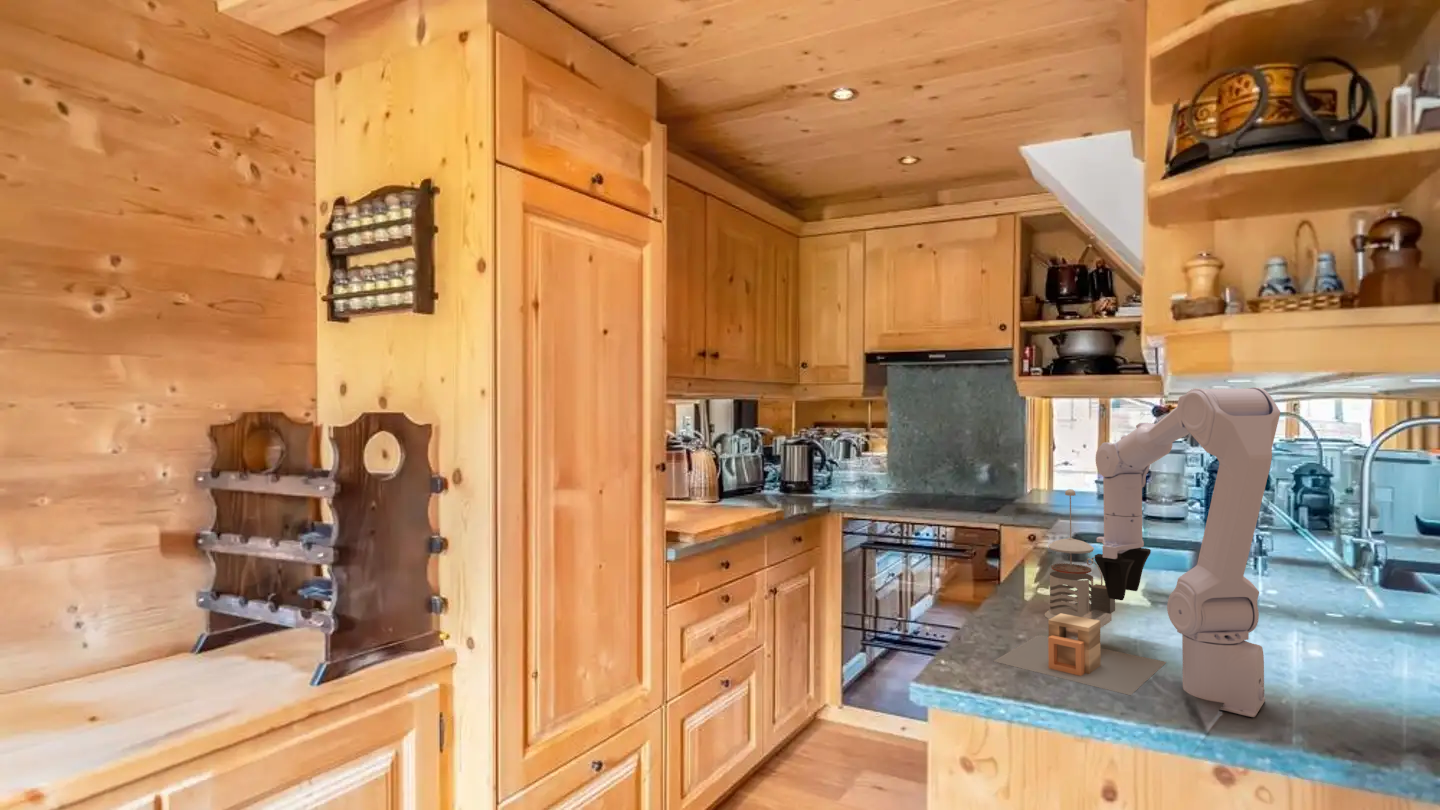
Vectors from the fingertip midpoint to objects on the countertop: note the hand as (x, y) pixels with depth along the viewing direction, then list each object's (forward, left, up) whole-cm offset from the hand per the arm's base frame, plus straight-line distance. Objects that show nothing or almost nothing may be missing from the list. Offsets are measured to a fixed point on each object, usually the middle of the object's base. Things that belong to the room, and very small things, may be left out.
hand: (1123, 594), depth 126 cm
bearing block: (+2, +15, -8) cm, 18 cm away
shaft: (+2, +9, -4) cm, 10 cm away
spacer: (+2, +19, -8) cm, 21 cm away
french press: (+12, -14, -10) cm, 21 cm away
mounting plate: (+2, +13, -10) cm, 17 cm away
